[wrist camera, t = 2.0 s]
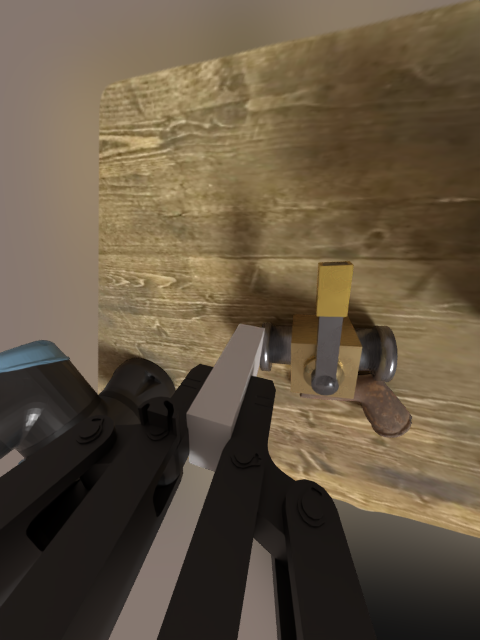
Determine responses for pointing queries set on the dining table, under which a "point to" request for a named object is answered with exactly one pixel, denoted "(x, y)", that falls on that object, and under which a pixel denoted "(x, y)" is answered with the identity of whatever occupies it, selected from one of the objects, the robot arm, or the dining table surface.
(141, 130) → the dining table surface
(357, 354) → the valve body
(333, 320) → the lever
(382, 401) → the pipe
